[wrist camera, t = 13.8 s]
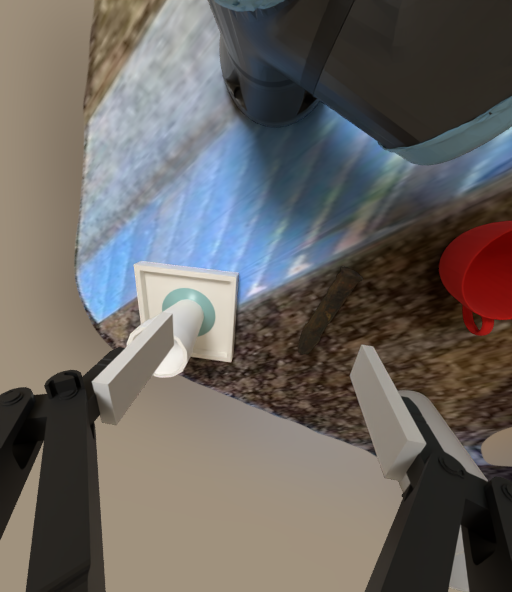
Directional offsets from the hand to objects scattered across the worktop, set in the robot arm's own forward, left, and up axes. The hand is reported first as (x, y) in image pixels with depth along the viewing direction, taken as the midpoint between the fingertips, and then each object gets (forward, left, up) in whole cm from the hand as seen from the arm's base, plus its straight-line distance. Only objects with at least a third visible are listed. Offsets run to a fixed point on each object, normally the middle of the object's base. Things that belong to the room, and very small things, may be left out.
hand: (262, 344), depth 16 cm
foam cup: (+14, -16, -27) cm, 34 cm away
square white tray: (+14, -16, -28) cm, 35 cm away
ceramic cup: (-1, +31, -28) cm, 42 cm away
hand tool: (+10, +11, -28) cm, 32 cm away
